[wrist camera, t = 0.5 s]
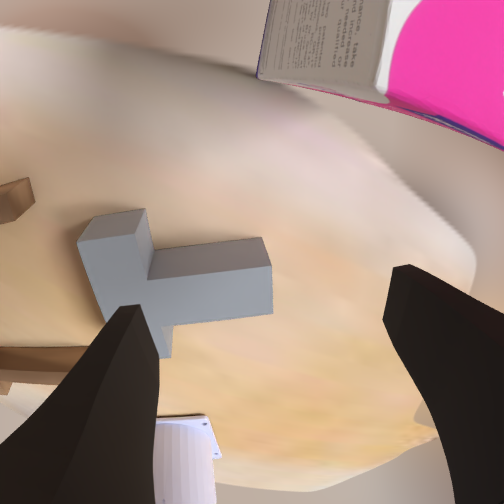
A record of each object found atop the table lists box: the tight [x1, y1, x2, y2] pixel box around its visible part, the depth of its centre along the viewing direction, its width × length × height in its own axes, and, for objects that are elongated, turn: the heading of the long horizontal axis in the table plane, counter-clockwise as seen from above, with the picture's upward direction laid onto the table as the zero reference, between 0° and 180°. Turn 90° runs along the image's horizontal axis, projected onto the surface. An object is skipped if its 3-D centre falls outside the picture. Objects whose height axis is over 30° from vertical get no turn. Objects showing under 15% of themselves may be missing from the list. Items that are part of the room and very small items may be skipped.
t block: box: [76, 209, 273, 359], centre depth 17 cm, size 8×9×3 cm
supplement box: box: [256, 0, 504, 151], centre depth 8 cm, size 6×6×11 cm
